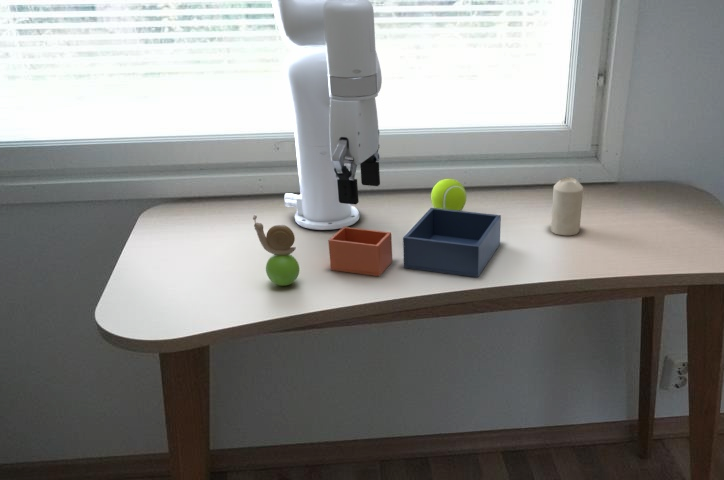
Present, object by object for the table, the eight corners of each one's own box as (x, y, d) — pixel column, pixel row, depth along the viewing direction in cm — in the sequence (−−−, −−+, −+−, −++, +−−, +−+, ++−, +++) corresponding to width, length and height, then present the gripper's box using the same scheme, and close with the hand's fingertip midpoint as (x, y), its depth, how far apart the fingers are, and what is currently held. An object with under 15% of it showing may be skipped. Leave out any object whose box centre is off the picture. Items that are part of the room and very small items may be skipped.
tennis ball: (425, 211, 168) (424, 177, 164) (454, 205, 171) (454, 172, 167) (442, 222, 163) (442, 187, 159) (472, 216, 166) (473, 181, 162)
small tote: (330, 270, 144) (328, 240, 141) (345, 255, 149) (343, 226, 146) (379, 276, 142) (377, 246, 139) (392, 261, 147) (391, 232, 144)
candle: (578, 237, 157) (582, 185, 152) (549, 234, 158) (552, 183, 152) (580, 226, 162) (585, 175, 156) (552, 224, 162) (555, 173, 157)
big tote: (403, 267, 145) (402, 237, 142) (431, 236, 157) (430, 207, 154) (478, 277, 141) (478, 246, 138) (499, 244, 154) (501, 215, 151)
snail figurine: (263, 278, 141) (254, 209, 134) (302, 276, 141) (294, 208, 135) (260, 291, 136) (250, 222, 130) (299, 290, 137) (292, 220, 130)
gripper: (351, 74, 137) (358, 177, 146) (307, 96, 123) (317, 208, 132) (394, 76, 135) (398, 180, 144) (354, 99, 121) (361, 213, 130)
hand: (360, 193), depth 138 cm, fingers open, 9 cm apart
